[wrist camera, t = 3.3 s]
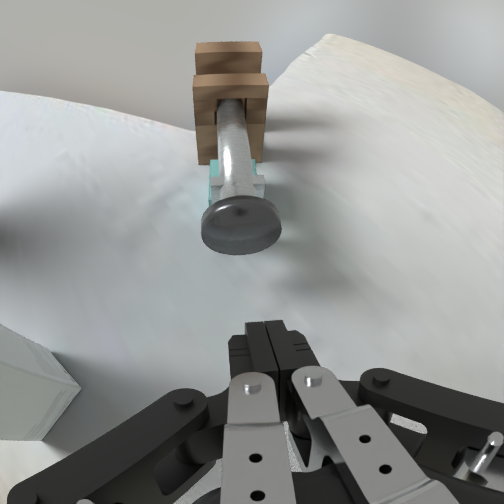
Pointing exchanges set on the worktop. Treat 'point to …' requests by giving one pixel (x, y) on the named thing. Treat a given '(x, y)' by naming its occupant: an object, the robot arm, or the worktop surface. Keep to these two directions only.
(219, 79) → the bearing stand
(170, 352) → the worktop surface
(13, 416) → the skincare box
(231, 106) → the shaft
